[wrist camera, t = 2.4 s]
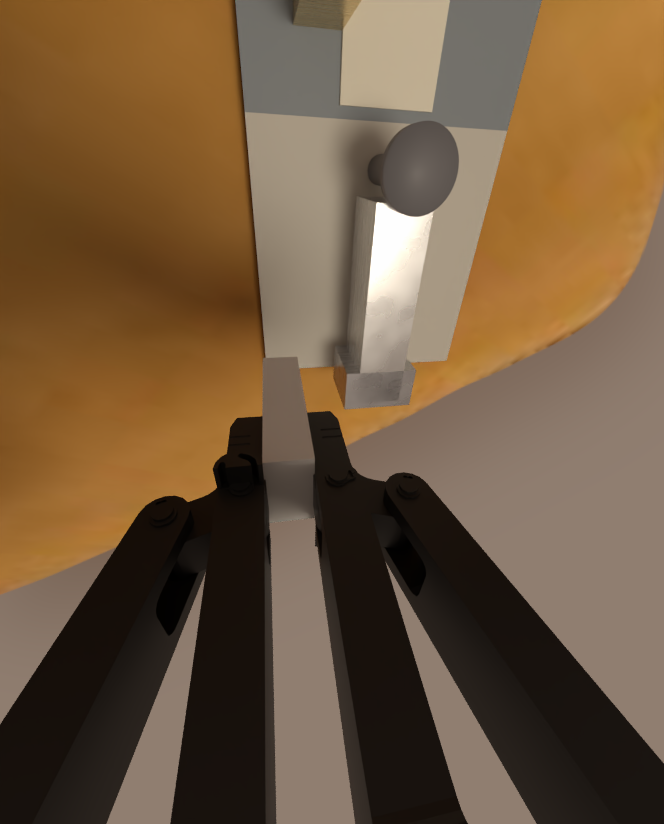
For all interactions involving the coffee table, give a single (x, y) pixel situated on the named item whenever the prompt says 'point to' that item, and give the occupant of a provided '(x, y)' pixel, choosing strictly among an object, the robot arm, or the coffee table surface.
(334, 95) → the door board
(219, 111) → the coffee table surface
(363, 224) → the bar
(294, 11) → the block
